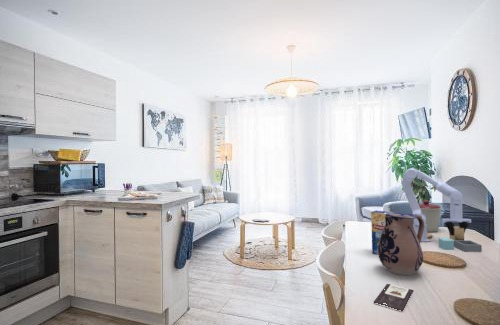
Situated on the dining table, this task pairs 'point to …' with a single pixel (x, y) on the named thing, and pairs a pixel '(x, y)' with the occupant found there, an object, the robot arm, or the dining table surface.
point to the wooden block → (457, 233)
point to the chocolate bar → (394, 297)
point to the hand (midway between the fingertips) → (456, 235)
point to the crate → (467, 246)
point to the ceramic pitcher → (401, 244)
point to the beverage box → (377, 228)
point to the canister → (431, 215)
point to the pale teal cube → (446, 243)
